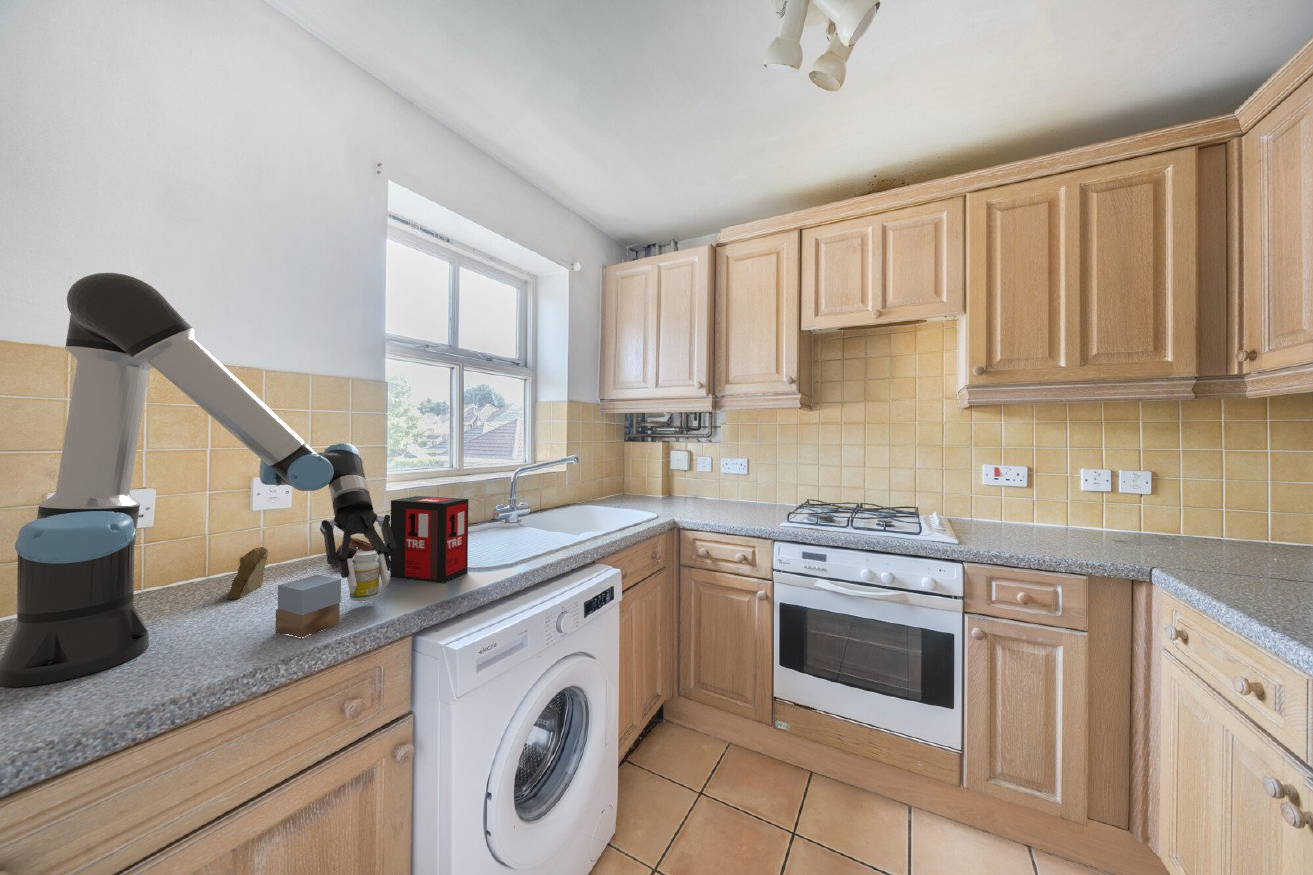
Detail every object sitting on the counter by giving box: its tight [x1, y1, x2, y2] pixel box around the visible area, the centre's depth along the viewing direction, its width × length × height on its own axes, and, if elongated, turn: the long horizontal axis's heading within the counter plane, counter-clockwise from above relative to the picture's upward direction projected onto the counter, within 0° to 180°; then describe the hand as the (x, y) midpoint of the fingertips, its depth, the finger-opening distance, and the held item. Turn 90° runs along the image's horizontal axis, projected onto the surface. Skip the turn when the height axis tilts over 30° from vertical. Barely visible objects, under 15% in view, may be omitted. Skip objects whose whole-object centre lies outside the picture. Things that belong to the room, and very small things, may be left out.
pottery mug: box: [332, 537, 375, 568], centre depth 130 cm, size 12×10×8 cm
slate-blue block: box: [277, 574, 342, 615], centre depth 87 cm, size 7×7×4 cm
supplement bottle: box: [349, 550, 381, 602], centre depth 99 cm, size 5×5×10 cm
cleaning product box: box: [389, 495, 469, 584], centre depth 121 cm, size 16×9×20 cm, turn 76°
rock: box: [226, 546, 269, 600], centre depth 106 cm, size 11×9×10 cm
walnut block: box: [275, 602, 341, 638], centre depth 87 cm, size 7×7×4 cm
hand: (370, 585), depth 96 cm, fingers closed on supplement bottle, 5 cm apart
